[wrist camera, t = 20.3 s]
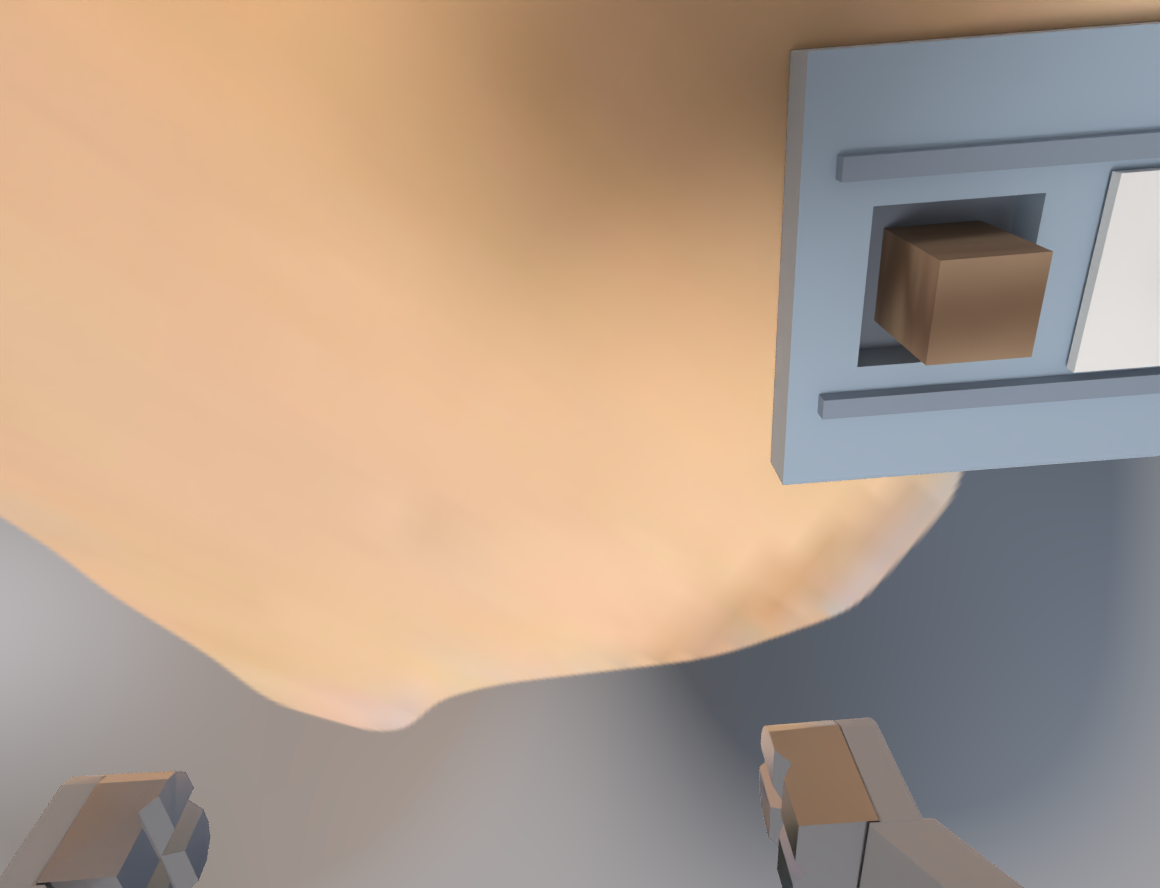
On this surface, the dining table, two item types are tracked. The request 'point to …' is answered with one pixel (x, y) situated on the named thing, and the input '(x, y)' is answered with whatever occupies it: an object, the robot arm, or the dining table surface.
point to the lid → (1123, 280)
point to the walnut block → (961, 291)
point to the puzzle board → (945, 195)
